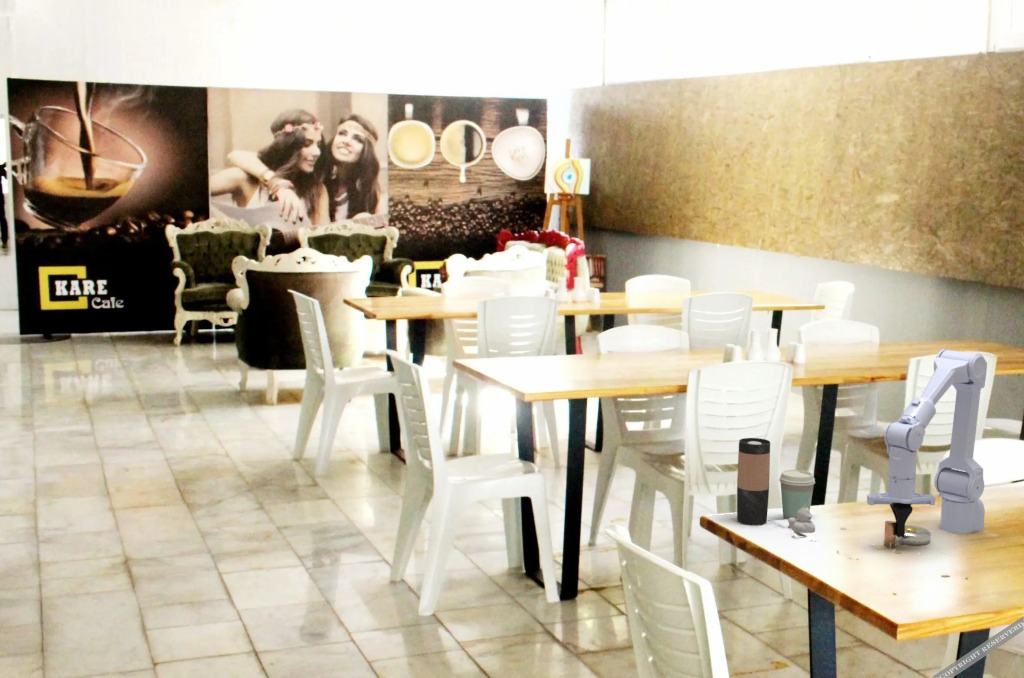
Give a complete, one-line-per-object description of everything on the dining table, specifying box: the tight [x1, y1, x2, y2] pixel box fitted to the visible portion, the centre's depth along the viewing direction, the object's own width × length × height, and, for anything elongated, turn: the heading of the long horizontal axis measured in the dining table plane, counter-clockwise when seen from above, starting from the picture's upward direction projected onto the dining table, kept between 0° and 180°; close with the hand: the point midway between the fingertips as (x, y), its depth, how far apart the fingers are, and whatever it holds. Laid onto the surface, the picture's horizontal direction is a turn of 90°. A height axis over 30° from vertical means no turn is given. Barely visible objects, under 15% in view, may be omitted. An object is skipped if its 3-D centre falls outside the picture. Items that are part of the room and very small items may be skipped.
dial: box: [883, 520, 932, 549], centre depth 267 cm, size 14×9×6 cm, turn 130°
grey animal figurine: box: [787, 504, 816, 538], centre depth 276 cm, size 5×7×8 cm
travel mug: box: [736, 437, 771, 526], centre depth 287 cm, size 8×8×20 cm
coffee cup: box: [778, 469, 816, 520], centre depth 287 cm, size 8×9×12 cm
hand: (899, 535), depth 263 cm, fingers closed, pressing on dial
